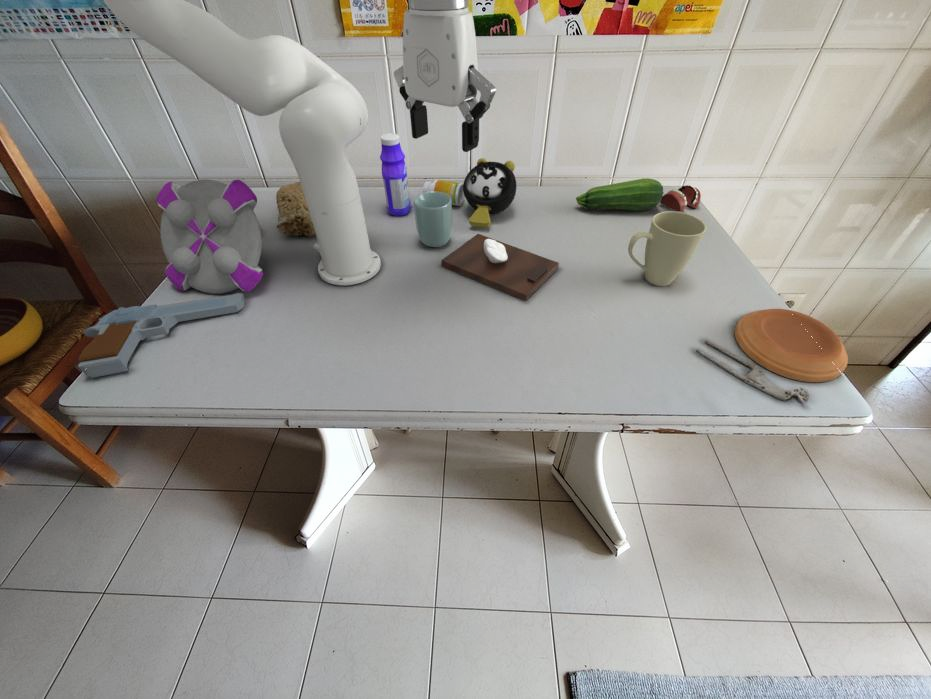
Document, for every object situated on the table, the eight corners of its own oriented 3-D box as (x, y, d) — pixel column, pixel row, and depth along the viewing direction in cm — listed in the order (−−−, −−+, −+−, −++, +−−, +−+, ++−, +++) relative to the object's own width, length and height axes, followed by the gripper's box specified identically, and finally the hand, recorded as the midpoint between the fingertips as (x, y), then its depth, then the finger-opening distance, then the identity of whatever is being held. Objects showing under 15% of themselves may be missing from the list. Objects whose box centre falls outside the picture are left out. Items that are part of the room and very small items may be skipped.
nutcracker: (693, 349, 69) (710, 335, 71) (692, 352, 69) (709, 338, 71) (799, 410, 60) (815, 392, 62) (796, 414, 60) (812, 395, 62)
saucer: (725, 302, 73) (718, 315, 76) (771, 369, 62) (761, 383, 64) (818, 301, 73) (808, 314, 75) (881, 369, 62) (868, 382, 64)
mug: (644, 259, 88) (662, 204, 80) (690, 278, 83) (715, 222, 75) (616, 281, 83) (632, 225, 75) (663, 303, 78) (686, 246, 69)
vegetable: (669, 177, 96) (581, 177, 97) (665, 210, 99) (578, 210, 99) (657, 179, 103) (574, 180, 104) (653, 210, 105) (572, 210, 106)
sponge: (328, 241, 97) (336, 187, 108) (311, 214, 90) (322, 159, 101) (275, 252, 98) (288, 197, 109) (255, 226, 92) (271, 171, 103)
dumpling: (479, 253, 88) (482, 235, 86) (503, 256, 89) (507, 238, 87) (484, 266, 83) (487, 247, 80) (509, 269, 83) (514, 250, 81)
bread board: (441, 266, 87) (441, 257, 86) (478, 239, 95) (478, 231, 93) (525, 301, 79) (526, 292, 77) (558, 269, 86) (559, 260, 85)
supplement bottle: (461, 179, 102) (425, 174, 104) (456, 200, 102) (419, 194, 104) (467, 189, 107) (432, 184, 110) (461, 209, 107) (426, 204, 109)
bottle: (409, 217, 102) (400, 141, 90) (386, 217, 102) (374, 141, 90) (412, 203, 107) (404, 130, 95) (390, 203, 107) (379, 130, 95)
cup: (448, 253, 91) (446, 209, 84) (413, 250, 92) (408, 206, 85) (456, 235, 96) (455, 192, 89) (423, 232, 97) (419, 189, 90)
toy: (183, 130, 73) (242, 154, 87) (111, 237, 78) (178, 243, 93) (284, 233, 73) (326, 240, 88) (205, 332, 79) (257, 323, 93)
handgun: (71, 383, 65) (99, 323, 75) (242, 351, 71) (246, 299, 81) (57, 368, 63) (87, 308, 73) (235, 336, 69) (240, 284, 79)
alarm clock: (456, 229, 105) (444, 164, 99) (507, 218, 109) (499, 155, 104) (476, 230, 94) (464, 158, 89) (531, 217, 99) (523, 148, 94)
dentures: (663, 185, 101) (687, 179, 105) (655, 203, 104) (678, 197, 108) (684, 196, 98) (708, 190, 101) (675, 215, 101) (699, 208, 105)
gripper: (367, -4, 54) (386, 138, 66) (478, 5, 47) (476, 163, 59) (406, -9, 58) (417, 125, 70) (513, -2, 51) (505, 146, 63)
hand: (444, 142), depth 65 cm, fingers open, 9 cm apart
